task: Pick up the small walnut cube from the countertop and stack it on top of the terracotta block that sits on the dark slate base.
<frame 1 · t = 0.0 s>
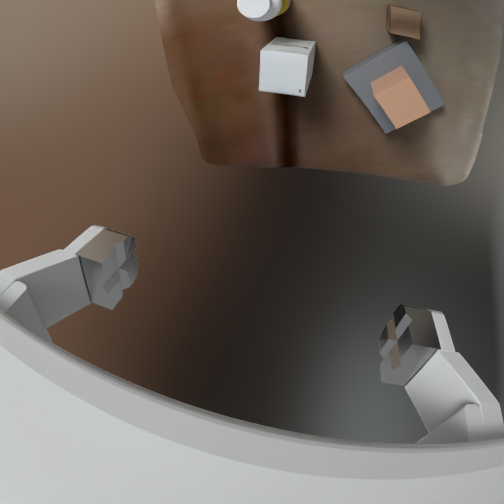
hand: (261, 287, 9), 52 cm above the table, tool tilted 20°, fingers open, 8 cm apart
walnut block: (400, 19, 34), on the table
terracotta block: (396, 89, 42), point 3 cm above the table, touching base slab
supplement box: (294, 55, 46), on the table
base slab: (394, 84, 44), on the table
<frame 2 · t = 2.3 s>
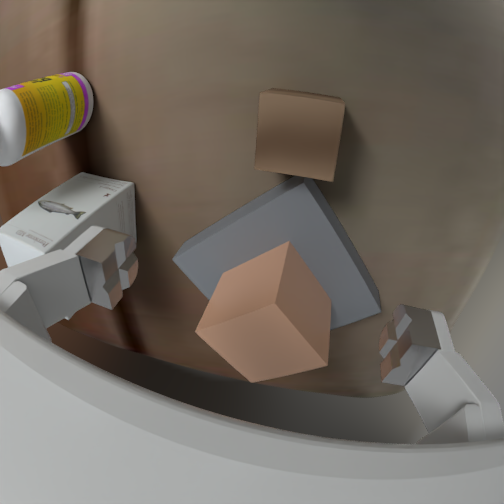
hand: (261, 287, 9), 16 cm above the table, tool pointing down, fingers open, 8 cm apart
walnut block: (303, 123, 21), on the table
supplement bottle 2: (74, 101, 23), on the table
terracotta block: (277, 287, 26), point 3 cm above the table, touching base slab
supplement box: (109, 205, 29), on the table
base slab: (282, 266, 29), on the table
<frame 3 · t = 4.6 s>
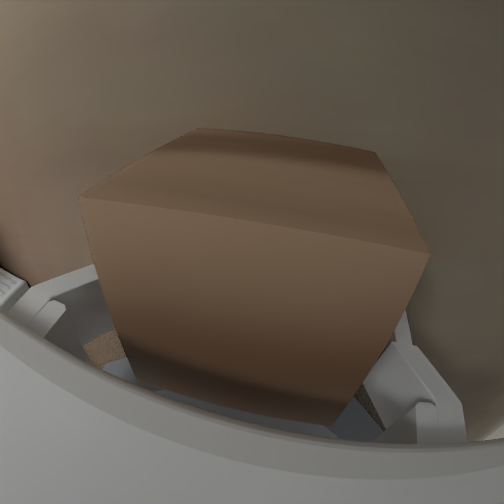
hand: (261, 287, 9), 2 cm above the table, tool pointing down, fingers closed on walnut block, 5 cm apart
walnut block: (275, 216, 9), on the table, touching gripper
supplement box: (15, 296, 18), on the table
base slab: (245, 412, 17), on the table
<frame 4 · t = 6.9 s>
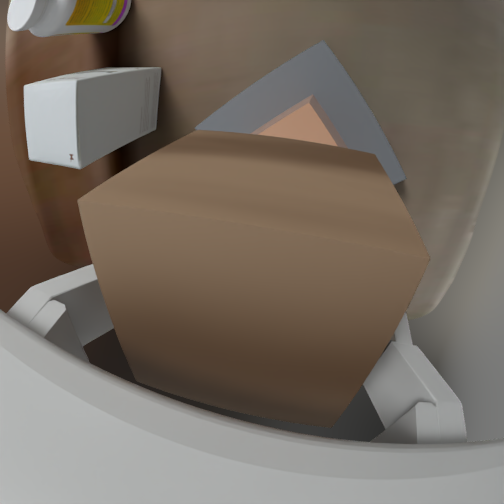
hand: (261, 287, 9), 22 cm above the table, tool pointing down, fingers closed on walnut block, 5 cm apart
walnut block: (275, 218, 9), point 21 cm above the table, touching gripper
supplement bottle 2: (110, 7, 21), on the table
terracotta block: (301, 147, 25), point 3 cm above the table, touching base slab
supplement box: (132, 96, 28), on the table
base slab: (303, 140, 27), on the table
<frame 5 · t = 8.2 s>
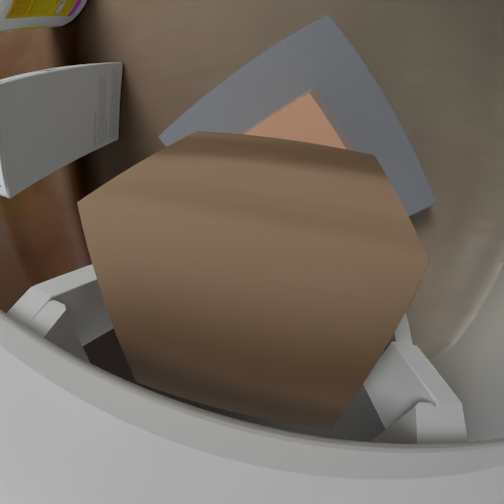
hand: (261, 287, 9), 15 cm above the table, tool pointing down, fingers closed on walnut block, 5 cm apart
walnut block: (275, 219, 9), point 14 cm above the table, touching gripper
terracotta block: (298, 161, 18), point 3 cm above the table, touching base slab
supplement box: (92, 99, 22), on the table
base slab: (301, 150, 21), on the table
when the fingers open (13 cm above the table, at t = 9.4 s): walnut block drops 1 cm, resting on terracotta block.
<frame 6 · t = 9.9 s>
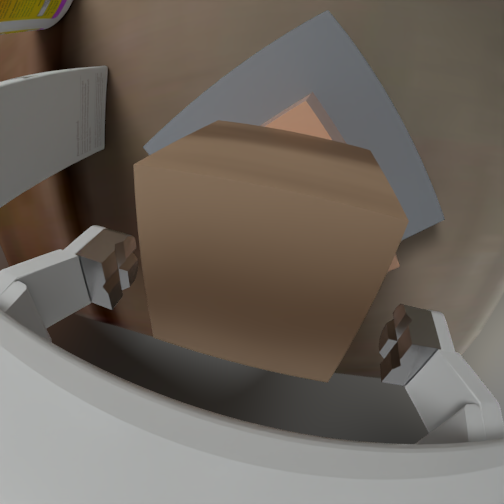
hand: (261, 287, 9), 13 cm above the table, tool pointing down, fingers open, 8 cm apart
walnut block: (281, 201, 10), point 10 cm above the table, touching terracotta block
terracotta block: (295, 174, 17), point 3 cm above the table, touching base slab, walnut block
supplement box: (77, 106, 20), on the table
base slab: (299, 160, 19), on the table
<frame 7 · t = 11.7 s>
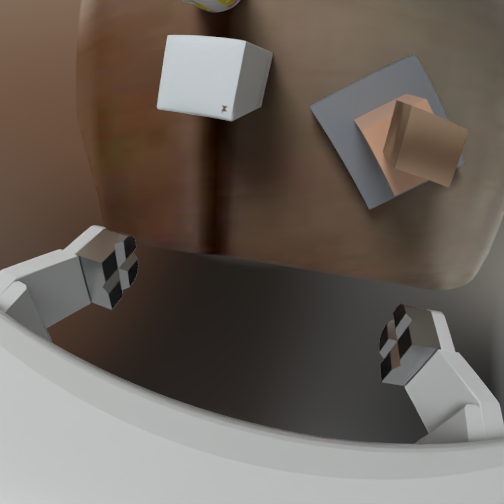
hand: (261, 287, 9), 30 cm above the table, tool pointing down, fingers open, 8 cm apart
walnut block: (414, 134, 22), point 10 cm above the table, touching terracotta block
terracotta block: (395, 133, 28), point 3 cm above the table, touching base slab, walnut block
supplement box: (239, 74, 32), on the table
base slab: (389, 129, 31), on the table
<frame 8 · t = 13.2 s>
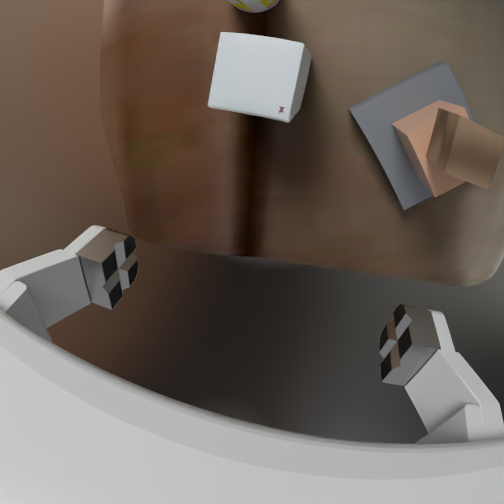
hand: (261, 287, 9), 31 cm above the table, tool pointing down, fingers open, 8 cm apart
walnut block: (454, 140, 22), point 10 cm above the table, touching terracotta block
terracotta block: (428, 137, 28), point 3 cm above the table, touching base slab, walnut block
supplement box: (277, 75, 32), on the table
base slab: (421, 132, 31), on the table
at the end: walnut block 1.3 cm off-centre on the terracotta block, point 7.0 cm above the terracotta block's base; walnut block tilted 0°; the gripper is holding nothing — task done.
